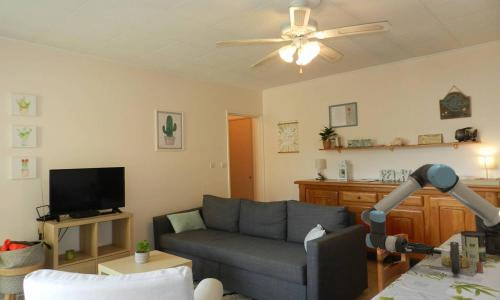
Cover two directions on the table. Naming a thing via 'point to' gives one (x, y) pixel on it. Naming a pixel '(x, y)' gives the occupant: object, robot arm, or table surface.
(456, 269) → the tan ring with handle
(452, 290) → the table surface
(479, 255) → the coffee can
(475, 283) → the table surface
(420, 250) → the robot arm
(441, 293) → the table surface
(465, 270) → the flange plate
